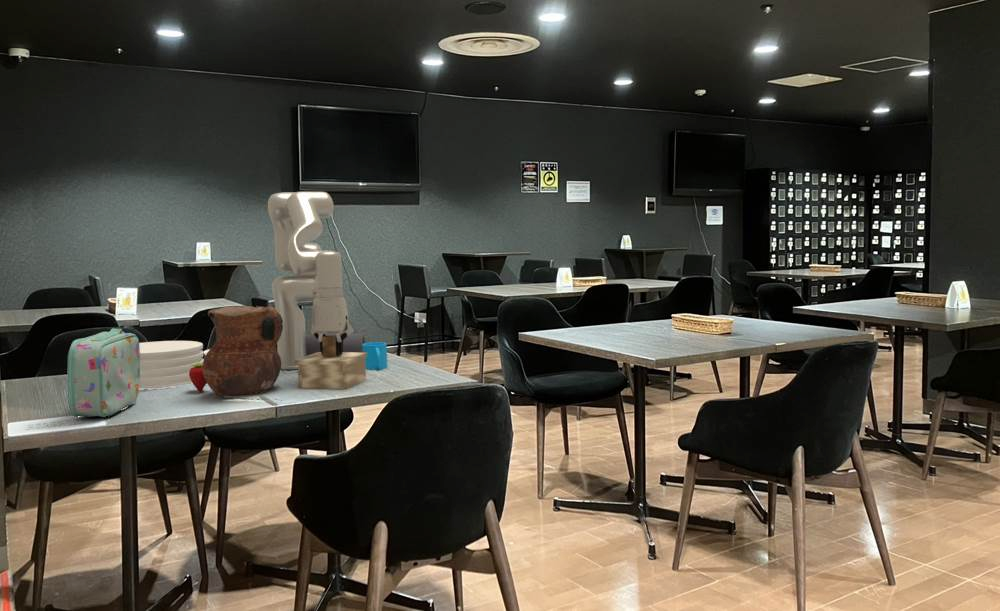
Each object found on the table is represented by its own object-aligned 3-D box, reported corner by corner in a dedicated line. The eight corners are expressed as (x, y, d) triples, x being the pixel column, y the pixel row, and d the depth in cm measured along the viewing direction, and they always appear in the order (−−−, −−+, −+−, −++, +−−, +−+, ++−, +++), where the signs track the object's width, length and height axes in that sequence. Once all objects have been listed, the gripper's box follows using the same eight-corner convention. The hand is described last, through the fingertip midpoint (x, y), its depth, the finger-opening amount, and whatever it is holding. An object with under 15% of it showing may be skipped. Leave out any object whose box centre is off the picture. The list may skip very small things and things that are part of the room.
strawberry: (209, 388, 250) (207, 355, 249) (213, 392, 243) (211, 358, 242) (188, 390, 247) (186, 357, 246) (191, 394, 241) (189, 360, 240)
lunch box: (107, 401, 233) (102, 325, 231) (145, 400, 234) (141, 324, 232) (64, 423, 206) (59, 337, 205) (107, 422, 207) (102, 336, 205)
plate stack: (191, 372, 282) (190, 338, 281) (215, 383, 259) (213, 347, 258) (101, 381, 266) (99, 346, 265) (117, 395, 243) (115, 356, 242)
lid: (295, 364, 242) (294, 339, 241) (318, 355, 257) (317, 332, 256) (347, 364, 238) (346, 339, 238) (367, 356, 254) (366, 333, 253)
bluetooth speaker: (298, 364, 293) (297, 336, 292) (302, 360, 302) (301, 332, 301) (363, 362, 295) (362, 334, 294) (365, 358, 304) (364, 331, 303)
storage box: (298, 391, 243) (297, 363, 242) (320, 381, 257) (319, 356, 257) (347, 392, 240) (346, 364, 239) (366, 382, 254) (365, 356, 253)
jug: (214, 404, 225) (209, 313, 223) (195, 393, 243) (190, 307, 241) (293, 394, 238) (289, 307, 235) (270, 384, 255) (266, 302, 253)
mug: (361, 367, 285) (360, 343, 284) (384, 365, 287) (384, 341, 287) (367, 372, 273) (366, 347, 273) (391, 370, 276) (391, 346, 275)
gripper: (297, 294, 244) (300, 356, 246) (351, 294, 241) (353, 357, 242) (308, 292, 251) (311, 352, 253) (361, 292, 248) (363, 353, 249)
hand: (332, 354), depth 248 cm, fingers closed on lid, 4 cm apart
